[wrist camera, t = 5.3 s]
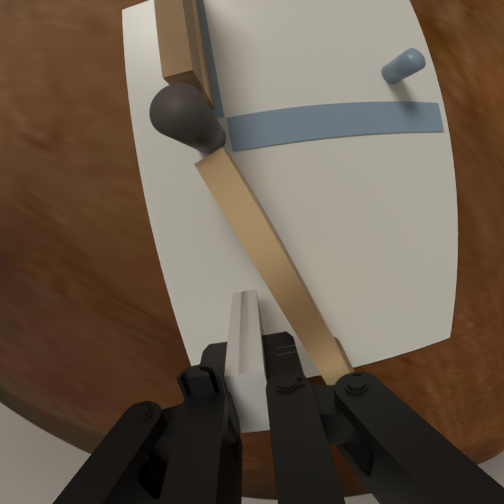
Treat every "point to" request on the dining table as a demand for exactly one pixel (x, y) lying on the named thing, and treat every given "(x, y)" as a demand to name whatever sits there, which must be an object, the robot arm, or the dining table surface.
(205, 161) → the fence panel
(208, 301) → the card
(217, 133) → the fence fixed
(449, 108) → the dining table surface
